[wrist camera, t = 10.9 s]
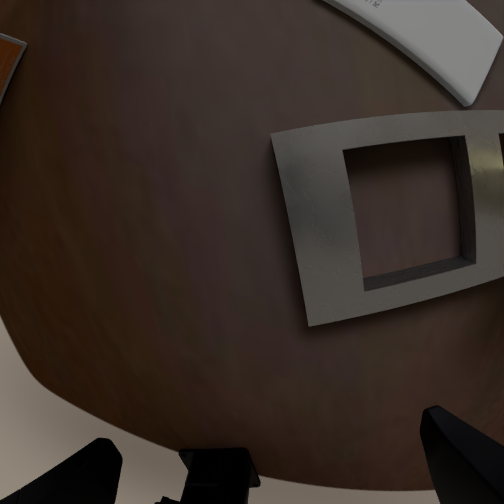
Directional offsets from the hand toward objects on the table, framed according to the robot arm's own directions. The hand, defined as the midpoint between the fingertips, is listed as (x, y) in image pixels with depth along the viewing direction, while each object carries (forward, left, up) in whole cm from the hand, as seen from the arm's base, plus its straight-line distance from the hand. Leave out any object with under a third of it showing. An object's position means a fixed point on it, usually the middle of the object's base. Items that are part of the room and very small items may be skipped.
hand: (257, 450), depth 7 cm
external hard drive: (+16, -14, -14) cm, 25 cm away
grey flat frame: (+3, -15, -13) cm, 20 cm away
